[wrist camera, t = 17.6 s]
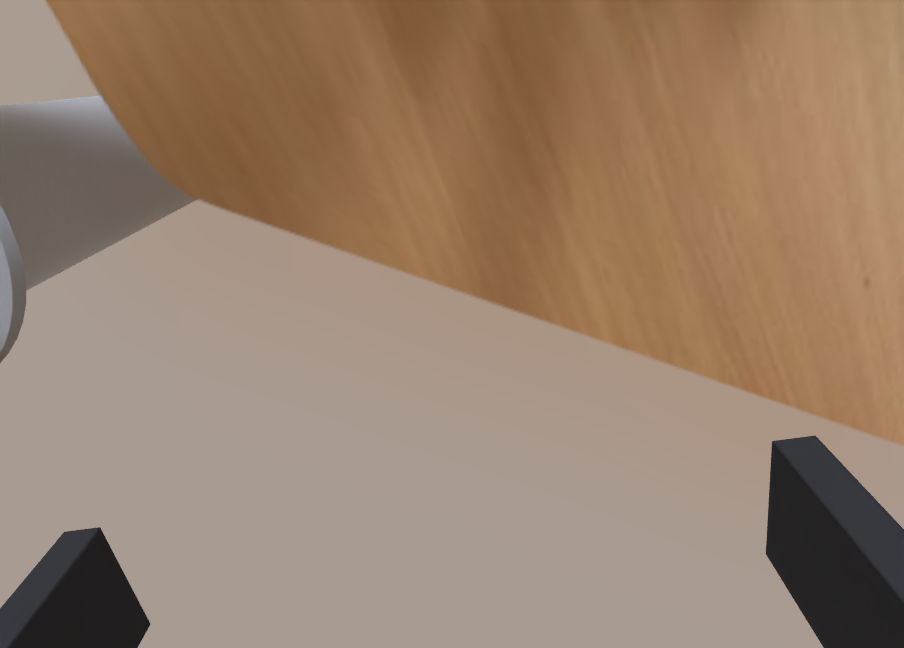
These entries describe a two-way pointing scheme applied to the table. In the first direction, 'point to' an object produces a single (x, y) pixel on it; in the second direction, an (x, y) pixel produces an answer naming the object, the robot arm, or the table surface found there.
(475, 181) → the table surface
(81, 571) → the robot arm
